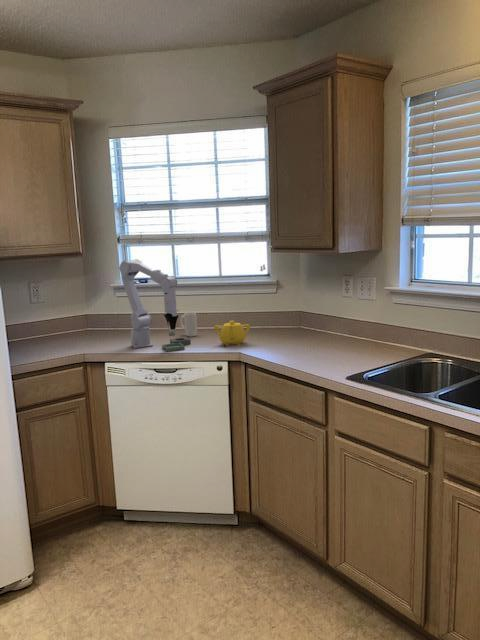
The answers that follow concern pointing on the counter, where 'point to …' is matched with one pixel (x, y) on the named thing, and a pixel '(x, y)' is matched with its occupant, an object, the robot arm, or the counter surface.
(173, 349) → the tray
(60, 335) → the counter surface
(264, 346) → the counter surface
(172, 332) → the small bottle
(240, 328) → the teapot
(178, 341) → the block
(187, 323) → the mug
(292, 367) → the counter surface
